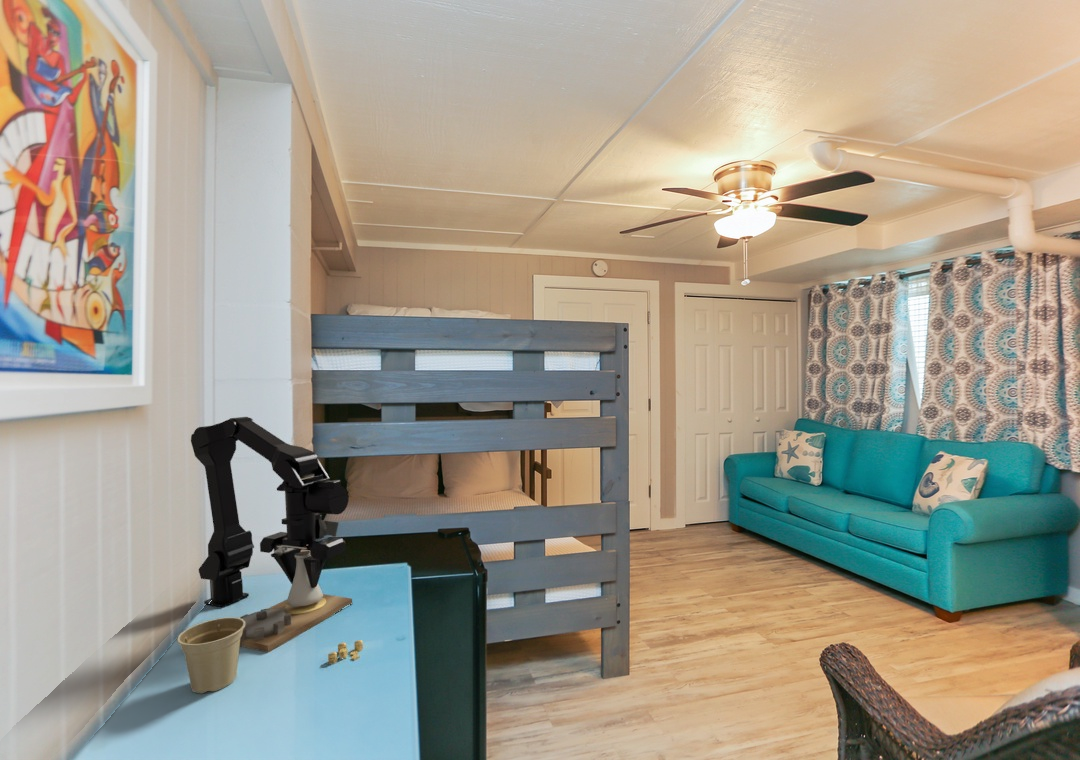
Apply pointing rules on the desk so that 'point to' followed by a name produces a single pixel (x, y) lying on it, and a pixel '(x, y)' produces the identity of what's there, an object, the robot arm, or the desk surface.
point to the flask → (302, 585)
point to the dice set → (345, 652)
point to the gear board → (298, 623)
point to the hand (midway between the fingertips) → (304, 585)
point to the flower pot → (212, 652)
